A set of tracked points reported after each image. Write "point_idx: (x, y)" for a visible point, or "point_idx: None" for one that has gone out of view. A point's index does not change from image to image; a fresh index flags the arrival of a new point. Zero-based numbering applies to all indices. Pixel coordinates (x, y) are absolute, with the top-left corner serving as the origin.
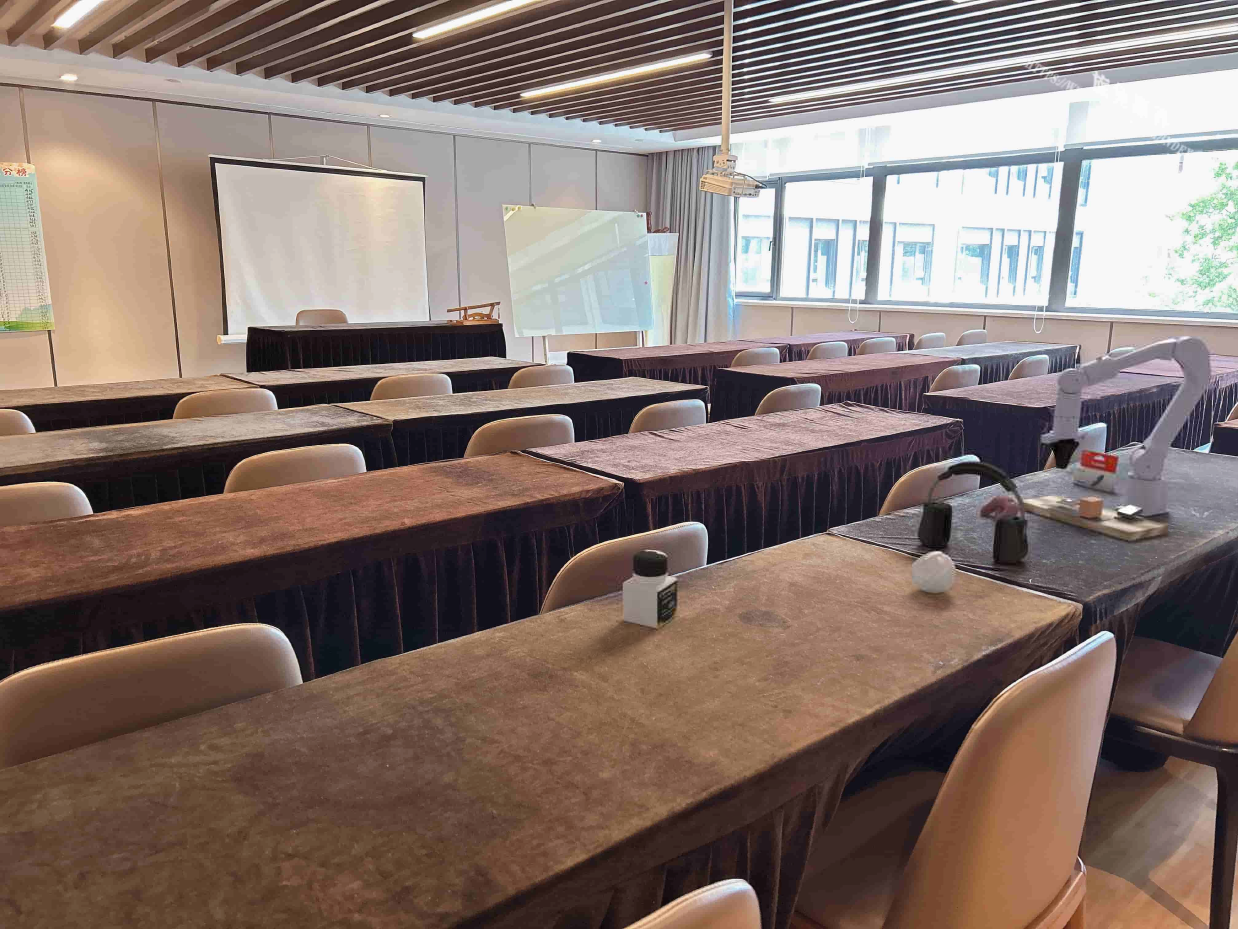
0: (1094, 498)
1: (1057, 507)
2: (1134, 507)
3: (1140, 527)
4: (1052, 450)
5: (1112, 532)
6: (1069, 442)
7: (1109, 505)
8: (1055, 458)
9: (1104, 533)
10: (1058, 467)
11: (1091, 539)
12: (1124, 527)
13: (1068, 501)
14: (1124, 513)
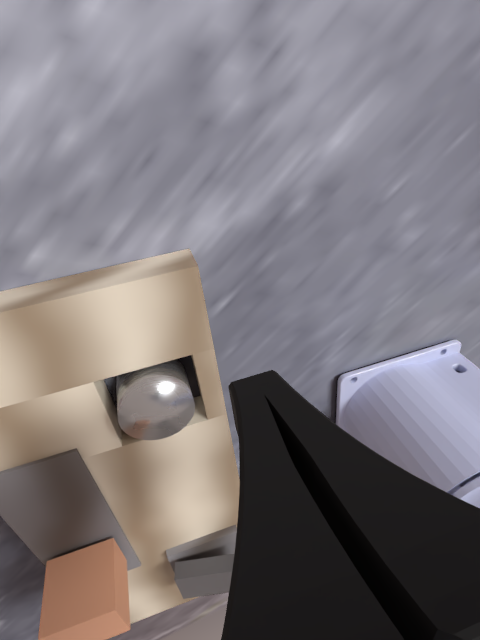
0: (107, 625)
1: (34, 473)
2: None
3: (170, 599)
4: (237, 545)
5: None
6: None
7: (371, 326)
8: (243, 453)
9: None
10: (233, 405)
11: (4, 614)
12: None
13: (134, 432)
14: (180, 588)
